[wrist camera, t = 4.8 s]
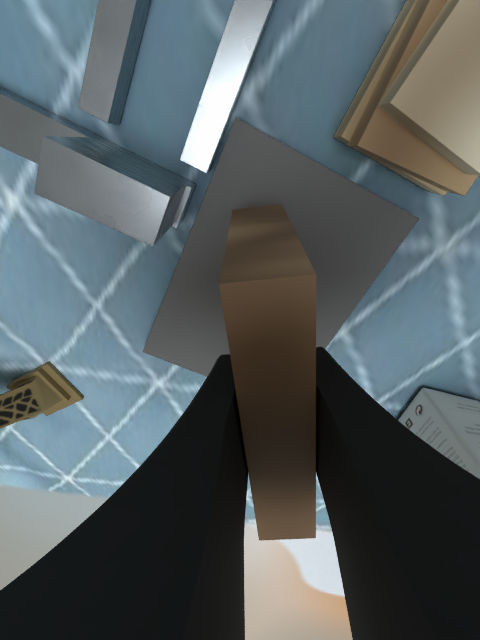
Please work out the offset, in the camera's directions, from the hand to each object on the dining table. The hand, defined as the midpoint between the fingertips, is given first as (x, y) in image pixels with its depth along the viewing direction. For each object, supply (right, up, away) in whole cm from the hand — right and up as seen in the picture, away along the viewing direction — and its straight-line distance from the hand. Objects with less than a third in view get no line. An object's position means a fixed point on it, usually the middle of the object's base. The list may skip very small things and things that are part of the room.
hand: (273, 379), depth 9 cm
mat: (0, +3, +6) cm, 6 cm away
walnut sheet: (0, +2, +3) cm, 4 cm away
